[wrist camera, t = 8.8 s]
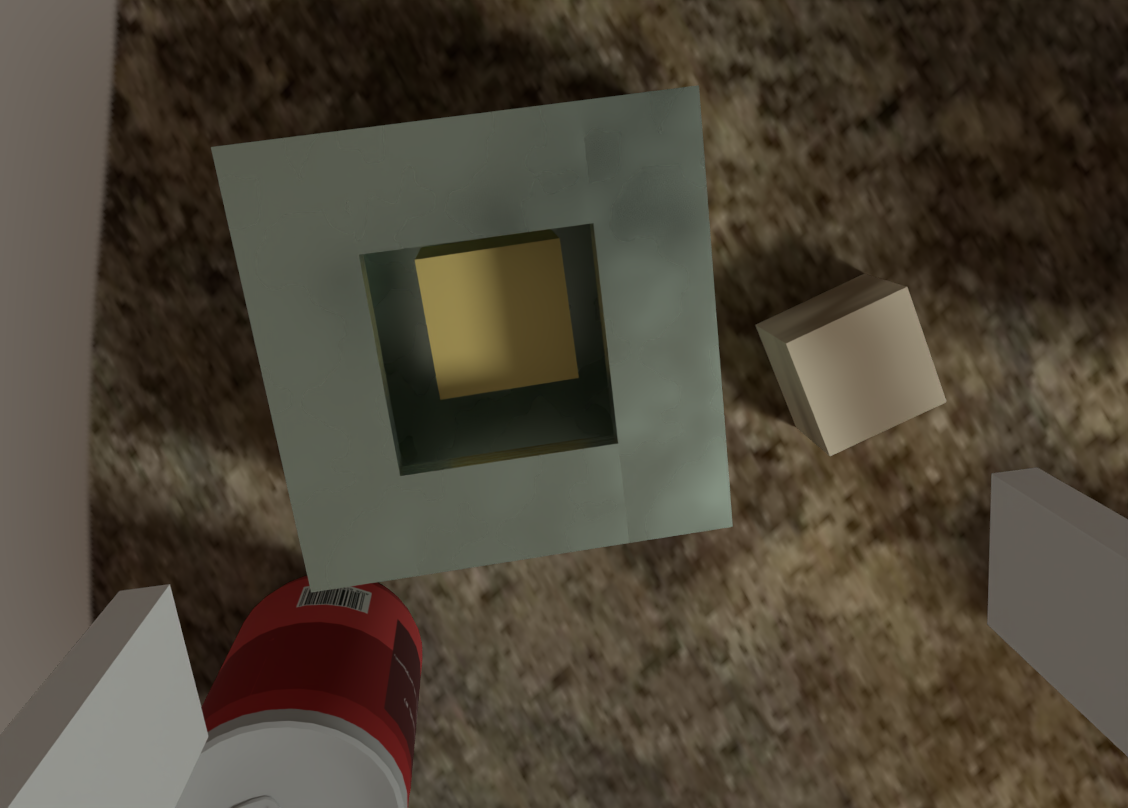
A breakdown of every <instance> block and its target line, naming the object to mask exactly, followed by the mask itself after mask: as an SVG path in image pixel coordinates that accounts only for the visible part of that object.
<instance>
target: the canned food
mask: <svg viewBox="0 0 1128 808" xmlns="http://www.w3.org/2000/svg"><path fill="white" fill-rule="evenodd" d="M421 667H422V642H421V638H420V634H419V630H418V628H417V626H416V624H415V622H414V620H413V618H412V616H411V614H410V612H409V610H408V609H407V607H406V606H405V605H404V604H403V603H402V601H401V600H400V599H399V598H398V597H397V596H396V595H395V594H394V593H392V592H391V591H390V590H389V589H387V588H386V587H385V586H383V585H381V584H379V583H377V582H375V583H369V584H363V585H356V586H350V587H343V588H337V589H331V590H324V591H318V592H311V590H310V585H309V581H308V576H303V577H301V578H298V579H296V580H293V581H291V582H288V583H287V584H285V585H283V586H282V587H280V588H279V589H277V590H276V591H274V592H272V593H271V594H269V595H268V596H266V597H265V598H264V599H263V600H262V601H261V602H260V603H259V604H258V605H257V606H256V607H255V608H254V609H253V610H252V611H251V613H250V614H249V616H248V617H247V618H246V620H245V621H244V623H243V625H242V627H241V629H240V631H239V633H238V635H237V637H236V639H235V641H234V643H233V645H232V647H231V649H230V651H229V653H228V655H227V657H226V659H225V661H224V663H223V665H222V667H221V669H220V671H219V673H218V675H217V677H216V679H215V681H214V683H213V685H212V687H211V689H210V691H209V693H208V695H207V697H206V699H205V701H204V703H203V705H202V707H201V709H202V713H203V717H204V721H205V724H206V728H207V732H208V736H209V737H208V739H207V741H206V743H205V745H204V747H203V749H202V751H201V754H200V756H199V758H198V760H197V762H196V764H195V766H194V768H193V771H192V773H191V775H190V777H189V779H188V781H187V783H186V785H185V788H184V790H183V792H182V794H181V796H180V798H179V800H178V802H177V805H176V807H175V808H408V802H409V794H410V788H411V777H412V766H413V755H414V744H415V733H416V722H417V711H418V700H419V689H420V678H421Z"/></svg>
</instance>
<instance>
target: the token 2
mask: <svg viewBox="0 0 1128 808" xmlns="http://www.w3.org/2000/svg"><path fill="white" fill-rule="evenodd" d="M755 326H756V328H757V331H758V333H759V336H760V338H761V341H762V343H763V346H764V348H765V351H766V353H767V356H768V358H769V361H770V363H771V366H772V368H773V371H774V373H775V376H776V378H777V381H778V383H779V386H780V388H781V391H782V393H783V396H784V399H785V401H786V404H787V406H788V409H789V411H790V414H791V416H792V419H793V421H794V424H795V426H796V428H797V429H799V430H800V431H801V432H802V433H803V434H804V435H806V436H807V437H808V438H809V439H810V440H812V441H813V442H814V443H815V444H816V445H817V446H819V447H820V448H821V449H822V450H823V451H824V452H826V453H827V454H828V455H829V456H831V455H833V454H836V453H838V452H840V451H842V450H844V449H846V448H848V447H851V446H853V445H855V444H857V443H859V442H861V441H864V440H866V439H868V438H870V437H872V436H874V435H876V434H879V433H881V432H883V431H885V430H887V429H889V428H892V427H894V426H896V425H898V424H900V423H902V422H904V421H907V420H909V419H911V418H913V417H915V416H917V415H920V414H922V413H924V412H926V411H928V410H930V409H932V408H935V407H937V406H939V405H941V404H943V403H945V402H946V399H945V396H944V393H943V390H942V387H941V384H940V381H939V378H938V375H937V372H936V370H935V367H934V364H933V361H932V358H931V355H930V352H929V349H928V346H927V343H926V340H925V337H924V334H923V331H922V328H921V325H920V323H919V320H918V317H917V314H916V311H915V308H914V305H913V302H912V299H911V296H910V293H909V290H908V287H906V286H903V285H900V284H897V283H893V282H890V281H887V280H884V279H880V278H877V277H874V276H871V275H867V274H862V275H860V276H858V277H856V278H854V279H852V280H850V281H848V282H845V283H843V284H841V285H839V286H837V287H835V288H833V289H830V290H828V291H826V292H824V293H822V294H820V295H818V296H816V297H813V298H811V299H809V300H807V301H805V302H803V303H801V304H799V305H796V306H794V307H792V308H790V309H788V310H786V311H784V312H782V313H779V314H777V315H775V316H773V317H771V318H769V319H767V320H764V321H762V322H760V323H758V324H756V325H755Z"/></svg>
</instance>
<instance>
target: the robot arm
mask: <svg viewBox="0 0 1128 808" xmlns="http://www.w3.org/2000/svg"><path fill="white" fill-rule="evenodd" d="M987 625H988V626H990V627H991V628H992V629H993V630H994V631H995V632H996V633H997V634H998V635H999V636H1000V637H1001V638H1002V639H1003V640H1004V641H1005V642H1007V643H1008V644H1009V645H1010V646H1011V647H1012V648H1013V649H1014V650H1015V651H1016V652H1017V653H1018V654H1019V655H1020V656H1021V657H1022V658H1024V659H1025V660H1026V661H1027V662H1028V663H1029V664H1030V665H1031V666H1032V667H1033V668H1034V669H1035V670H1036V671H1037V672H1038V673H1039V674H1041V675H1042V676H1043V677H1044V678H1045V679H1046V680H1047V681H1048V682H1049V683H1050V684H1051V685H1052V686H1053V687H1054V688H1055V689H1056V690H1058V691H1059V692H1060V693H1061V694H1062V695H1063V696H1064V697H1065V698H1066V699H1067V700H1068V701H1069V702H1070V703H1071V704H1072V705H1073V706H1075V707H1076V708H1077V709H1078V710H1079V711H1080V712H1081V713H1082V714H1083V715H1084V716H1085V717H1086V718H1087V719H1088V720H1089V721H1090V722H1092V723H1093V724H1094V725H1095V726H1096V727H1097V728H1098V729H1099V730H1100V731H1101V732H1102V733H1103V734H1104V735H1105V736H1106V737H1108V738H1109V739H1110V740H1111V741H1112V742H1113V743H1114V744H1115V745H1116V746H1117V747H1118V748H1119V749H1120V750H1121V751H1122V752H1123V753H1125V754H1126V755H1127V756H1128V519H1126V518H1125V517H1123V516H1121V515H1119V514H1118V513H1116V512H1114V511H1112V510H1111V509H1109V508H1107V507H1105V506H1104V505H1102V504H1100V503H1098V502H1097V501H1095V500H1093V499H1091V498H1090V497H1088V496H1086V495H1084V494H1083V493H1081V492H1079V491H1077V490H1076V489H1074V488H1072V487H1070V486H1069V485H1067V484H1065V483H1063V482H1062V481H1060V480H1058V479H1056V478H1055V477H1053V476H1051V475H1049V474H1048V473H1046V472H1044V471H1042V470H1041V469H1039V468H1029V469H1022V470H1014V471H1007V472H1000V473H992V477H991V513H990V549H989V586H988V622H987ZM208 737H209V736H208V732H207V728H206V724H205V721H204V717H203V713H202V709H201V705H200V701H199V697H198V693H197V689H196V685H195V681H194V677H193V673H192V669H191V665H190V662H189V658H188V654H187V650H186V646H185V642H184V638H183V634H182V630H181V626H180V622H179V618H178V614H177V610H176V606H175V602H174V599H173V595H172V591H171V587H170V584H167V585H160V586H153V587H145V588H138V589H130V590H123V591H119V592H118V593H117V594H116V596H115V597H114V598H113V599H112V600H111V602H110V603H109V604H108V605H107V606H106V608H105V609H104V610H103V611H102V613H101V614H100V615H99V616H98V617H97V619H96V620H95V621H94V622H93V623H92V625H91V626H90V627H89V628H88V629H87V631H86V632H85V633H84V634H83V636H82V637H81V638H80V639H79V640H78V641H77V643H76V644H75V645H74V646H73V648H72V649H71V650H70V651H69V652H68V654H67V655H66V656H65V657H64V658H63V660H62V661H61V662H60V663H59V665H58V666H57V667H56V668H55V669H54V670H53V672H52V673H51V674H50V675H49V677H48V678H47V679H46V680H45V681H44V683H43V684H42V685H41V686H40V687H39V689H38V690H37V691H36V692H35V693H34V695H33V696H32V697H31V698H30V699H29V701H28V702H27V703H26V704H25V706H24V707H23V708H22V709H21V710H20V711H19V713H18V714H17V715H16V716H15V718H14V719H13V720H12V721H11V722H10V723H9V725H8V726H7V727H6V728H5V730H4V731H3V732H2V733H1V734H0V808H175V807H176V805H177V802H178V800H179V798H180V796H181V794H182V792H183V790H184V788H185V785H186V783H187V781H188V779H189V777H190V775H191V773H192V771H193V768H194V766H195V764H196V762H197V760H198V758H199V756H200V754H201V751H202V749H203V747H204V745H205V743H206V741H207V739H208Z"/></svg>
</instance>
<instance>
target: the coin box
mask: <svg viewBox="0 0 1128 808" xmlns="http://www.w3.org/2000/svg"><path fill="white" fill-rule="evenodd" d="M211 150H212V155H213V159H214V164H215V168H216V173H217V177H218V181H219V186H220V190H221V195H222V199H223V204H224V208H225V212H226V217H227V221H228V226H229V230H230V235H231V239H232V244H233V248H234V252H235V257H236V261H237V266H238V270H239V275H240V279H241V284H242V288H243V292H244V297H245V301H246V306H247V310H248V315H249V319H250V323H251V328H252V332H253V337H254V341H255V346H256V350H257V355H258V359H259V363H260V368H261V372H262V377H263V381H264V386H265V390H266V394H267V399H268V403H269V408H270V412H271V417H272V421H273V426H274V430H275V434H276V439H277V443H278V448H279V452H280V457H281V461H282V465H283V470H284V474H285V479H286V483H287V488H288V492H289V497H290V501H291V505H292V510H293V514H294V519H295V523H296V528H297V532H298V536H299V541H300V545H301V550H302V554H303V559H304V563H305V568H306V572H307V576H308V581H309V585H310V590H311V592H318V591H324V590H331V589H337V588H343V587H350V586H356V585H363V584H369V583H375V582H382V581H388V580H395V579H401V578H407V577H414V576H420V575H427V574H433V573H439V572H446V571H452V570H459V569H465V568H471V567H478V566H484V565H491V564H497V563H503V562H510V561H516V560H523V559H529V558H535V557H542V556H548V555H554V554H561V553H567V552H574V551H580V550H586V549H593V548H599V547H606V546H612V545H618V544H625V543H631V542H638V541H644V540H650V539H657V538H663V537H670V536H676V535H682V534H689V533H695V532H702V531H708V530H714V529H721V528H727V527H733V526H732V513H731V500H730V486H729V473H728V460H727V447H726V434H725V421H724V408H723V395H722V382H721V369H720V356H719V343H718V330H717V317H716V304H715V291H714V278H713V265H712V252H711V239H710V225H709V212H708V199H707V186H706V173H705V160H704V147H703V134H702V121H701V108H700V95H699V86H691V87H683V88H675V89H667V90H659V91H651V92H644V93H636V94H628V95H620V96H612V97H604V98H596V99H588V100H580V101H572V102H564V103H556V104H548V105H541V106H533V107H525V108H517V109H509V110H501V111H493V112H485V113H477V114H469V115H461V116H453V117H445V118H438V119H430V120H422V121H414V122H406V123H398V124H390V125H382V126H374V127H366V128H358V129H350V130H343V131H335V132H327V133H319V134H311V135H303V136H295V137H287V138H279V139H271V140H263V141H255V142H247V143H240V144H232V145H224V146H216V147H211ZM547 229H551V230H552V231H553V232H554V233H555V234H556V235H557V236H558V237H559V238H560V244H561V251H562V259H563V266H564V273H565V280H566V288H567V295H568V302H569V310H570V317H571V324H572V331H573V339H574V346H575V353H576V361H577V368H578V375H579V378H575V379H569V380H562V381H556V382H550V383H543V384H537V385H531V386H525V387H518V388H512V389H506V390H499V391H493V392H487V393H480V394H474V395H468V396H461V397H455V398H449V399H442V400H440V395H439V390H438V384H437V379H436V373H435V368H434V363H433V357H432V352H431V346H430V341H429V335H428V330H427V324H426V319H425V314H424V308H423V303H422V297H421V292H420V286H419V281H418V275H417V270H416V265H415V258H416V256H417V255H418V253H419V251H420V249H421V248H423V247H430V246H437V245H443V244H450V243H457V242H463V241H470V240H477V239H484V238H490V237H497V236H504V235H510V234H517V233H525V232H532V231H539V230H547Z"/></svg>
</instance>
